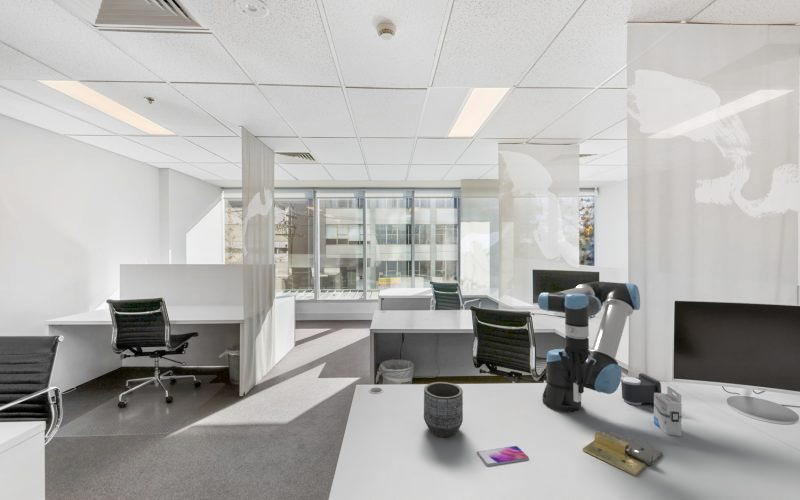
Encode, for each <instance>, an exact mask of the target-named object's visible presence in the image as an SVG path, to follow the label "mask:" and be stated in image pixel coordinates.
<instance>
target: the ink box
mask: <svg viewBox="0 0 800 500" xmlns="http://www.w3.org/2000/svg"><path fill="white" fill-rule="evenodd" d="M666 388H667V390H666V391H667V392H666V393H662V392H661V393H654V404H653V423H654V424H655V425H656V426H657V427H658V428H659V429H660V430H661V431H662V432H663V433H665V434H666V435H668V436H682V416H683V415H682V413H683V412H682V407H683V406H682V394H681V393H679V392H678V391H676V390H674V389H673V388H672V387H671V386H669V385H668V386H666ZM673 393H674V394H673Z"/></svg>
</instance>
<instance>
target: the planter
mask: <svg viewBox="0 0 800 500" xmlns="http://www.w3.org/2000/svg"><path fill="white" fill-rule="evenodd" d="M463 397H464V396H463V388H462V387H461V386H459V385H458V384H455V383H452V382H446V381H445V382H444V381H436V382H431V383H428V384H426V385H425V386H424V389H423V421H424V422H425V425H426V426H427V428H428V430H430V431H429V432H431V434H433V435H434V436H437V437H441V438H450V437H452V436H454V435H456V433H457V432H458V431H459V430H460V428H461V426H462V424H463V419H464V418H463V416H464V414H463V413H464V412H463V411H464V410H463V406H464V405H463V404H464V401H463V399H464V398H463Z"/></svg>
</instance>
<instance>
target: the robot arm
mask: <svg viewBox="0 0 800 500" xmlns="http://www.w3.org/2000/svg"><path fill="white" fill-rule="evenodd" d="M537 305H538V307H539V309H540V310H542V311H546V312H555V313H562V314H564V320H565V322H564V324H565V325H564V327H565V328H564V329H565V330H564V332H565V337H564V338H565V339H564V340H565V343H564V344H565V348H556V349H551V350H549V351H548V352H547V353H546V360H545V361H546V385H545V387H544V391H543V392H542V396H541V397H542V403H543V405H545V406H546V407H548V408H550V409H552V410H555V411H559V412H563V413H577V412H580V411H581V410H582V394H584V391H585V388H586V389H589V390H592V391H594V392H598V393H603V394H607V395H612V394H613V393H615V392H616V391H617V390H618V388H619V387H620V385H621V380H622V375H623V374H622V368H621V367H620V366H619V362H618V361H617V359H616V358H617V353H618V351H619V348H620V342H621V340H622V336H623V333H624V330H625V325H626V323H627V322H626V321H627V317H630V316H631V315H633V313H634V311H639V309H640V308H641V295H640V290H639V287H638V286H637V285H636V284H635V283H628V282H625V283H624V282H623V283H622V282H610V281H609V282H608V281H592V282H586V283H581V284H578V285H577V286H575V287H574V288H569V289H565V290H563V291H562V290H561V291H557V292H545V291H544V292H541V293H540V294H539V295H538V298H537ZM602 308H603V310H604V312H603V315H602V318H601V320H600V324H599V326H598V330H597V333H596V335H595V339H594V341H593V345H592V348H591V350H589V348H590V345H589V343H590V340H589V336H590V335H589V318H590V317H593V316H596V315H597V314H598V313H600V312H601V310H602Z"/></svg>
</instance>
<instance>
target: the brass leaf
mask: <svg viewBox="0 0 800 500" xmlns="http://www.w3.org/2000/svg"><path fill="white" fill-rule="evenodd" d="M593 436H594V437H593V438H594V440H593V441H591V442H589V443H588V444H587V445H585V446H584V447H583V448H582V451H583V452H585V453H587V454H589V455H591V456H593V457H595V458H596V459H597V458H598V459H599V460H601V461H603V462H606V463H607V464H609V465H612V466H614V467H616V468H618V469H620V470H622V471H624V472H625V473H628V474H630V475H632V476H634V477H636V476H637V475H639V474H640V473H641V472H642V471H643V470H644V469H645V468H646V467H647V466H646V465H647V464H645V463H643V462H641V461H639V460H637V459H634V458H632V457H630V456H629V452H627V451H625V448H628V449H629V443H627V442H624V441H622V440H620V439H617V438H615V437H612V436H610V435H608V433H605V432H602V431H600V430H597V431H596V432H594V435H593Z"/></svg>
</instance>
